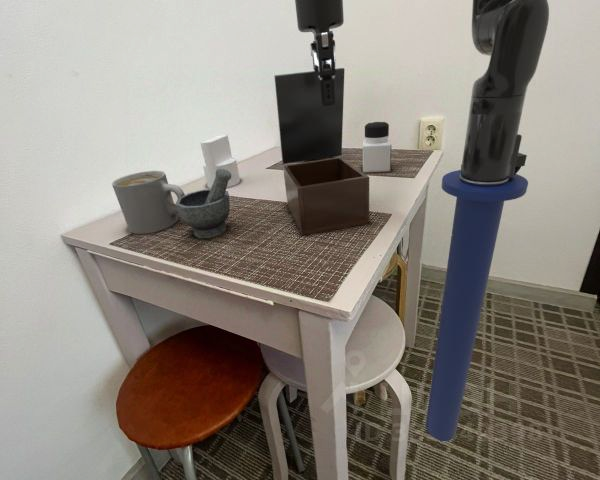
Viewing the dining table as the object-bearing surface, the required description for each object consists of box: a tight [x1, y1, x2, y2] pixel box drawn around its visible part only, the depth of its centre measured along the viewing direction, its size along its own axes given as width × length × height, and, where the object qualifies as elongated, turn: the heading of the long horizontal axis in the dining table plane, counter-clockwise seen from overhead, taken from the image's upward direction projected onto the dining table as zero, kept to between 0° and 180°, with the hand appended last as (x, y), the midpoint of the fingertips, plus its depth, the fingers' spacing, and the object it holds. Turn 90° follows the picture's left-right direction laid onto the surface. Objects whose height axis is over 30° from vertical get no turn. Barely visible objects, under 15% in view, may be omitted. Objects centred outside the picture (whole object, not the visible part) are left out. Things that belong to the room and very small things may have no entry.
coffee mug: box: [111, 170, 186, 235], centre depth 67 cm, size 13×10×10 cm
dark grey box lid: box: [273, 67, 345, 165], centre depth 63 cm, size 17×13×1 cm
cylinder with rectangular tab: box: [200, 134, 241, 189], centre depth 88 cm, size 9×9×12 cm
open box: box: [282, 156, 370, 236], centre depth 64 cm, size 16×13×9 cm
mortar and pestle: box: [175, 169, 231, 239], centre depth 61 cm, size 11×9×12 cm
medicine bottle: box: [362, 121, 392, 174], centre depth 87 cm, size 7×7×12 cm
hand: (326, 103), depth 59 cm, fingers open, 8 cm apart
